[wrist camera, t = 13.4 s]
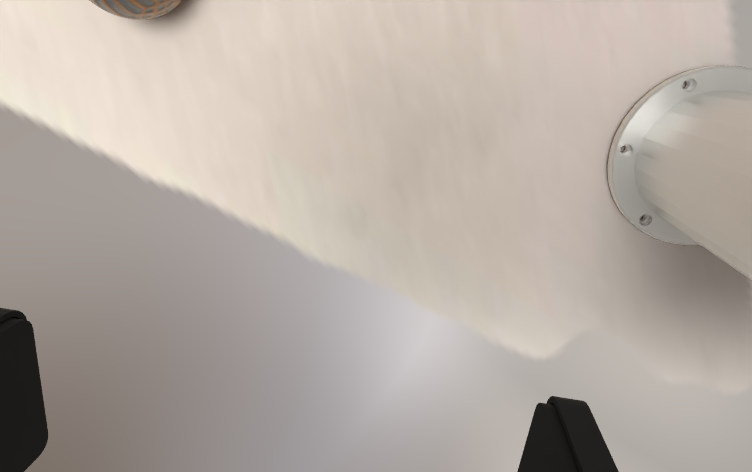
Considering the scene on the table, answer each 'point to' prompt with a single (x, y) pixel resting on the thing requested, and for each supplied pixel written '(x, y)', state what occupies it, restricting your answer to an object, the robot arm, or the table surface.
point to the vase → (137, 7)
